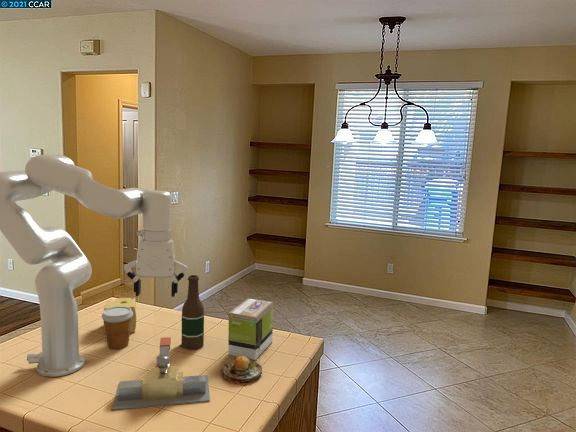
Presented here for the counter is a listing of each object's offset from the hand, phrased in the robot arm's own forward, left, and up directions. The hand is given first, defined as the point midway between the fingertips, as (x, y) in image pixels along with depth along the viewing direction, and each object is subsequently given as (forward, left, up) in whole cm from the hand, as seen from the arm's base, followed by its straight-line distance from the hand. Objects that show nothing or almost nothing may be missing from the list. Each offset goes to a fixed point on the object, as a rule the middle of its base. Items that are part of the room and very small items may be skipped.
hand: (155, 295), depth 121 cm
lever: (+3, -5, -16) cm, 17 cm away
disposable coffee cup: (-13, +21, -24) cm, 35 cm away
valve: (+3, -11, -24) cm, 27 cm away
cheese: (-14, +35, -24) cm, 45 cm away
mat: (+3, -10, -24) cm, 26 cm away
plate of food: (+25, -3, -25) cm, 35 cm away
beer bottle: (+11, +18, -24) cm, 32 cm away
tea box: (+30, +13, -24) cm, 40 cm away
